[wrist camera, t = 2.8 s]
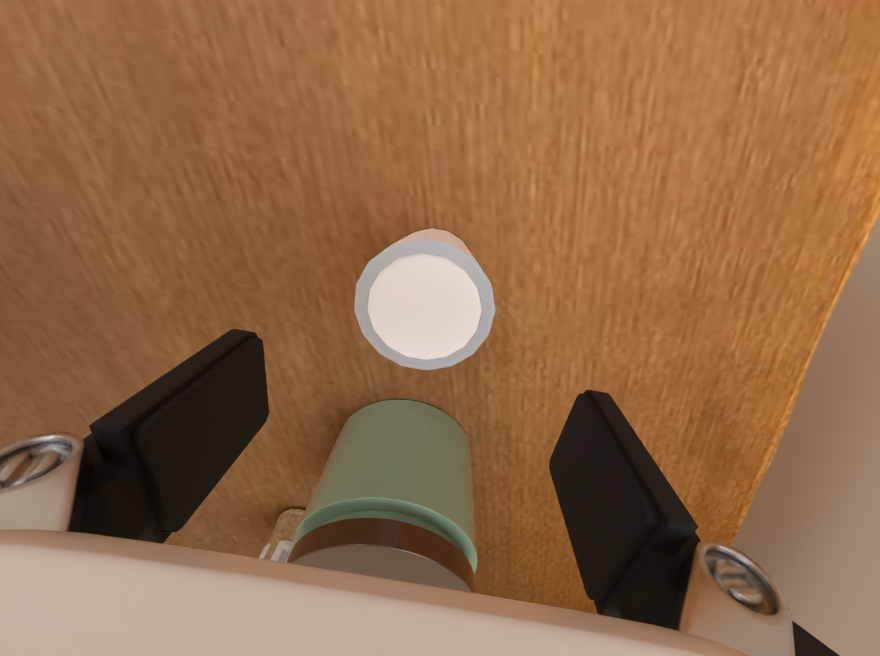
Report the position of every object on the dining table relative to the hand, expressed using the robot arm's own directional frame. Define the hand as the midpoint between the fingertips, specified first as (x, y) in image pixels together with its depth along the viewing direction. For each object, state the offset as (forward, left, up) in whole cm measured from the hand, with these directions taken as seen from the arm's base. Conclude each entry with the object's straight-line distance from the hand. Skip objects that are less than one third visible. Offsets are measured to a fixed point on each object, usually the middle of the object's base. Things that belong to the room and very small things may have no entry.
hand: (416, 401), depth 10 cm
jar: (+15, -8, -14) cm, 22 cm away
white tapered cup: (0, 0, -14) cm, 14 cm away
